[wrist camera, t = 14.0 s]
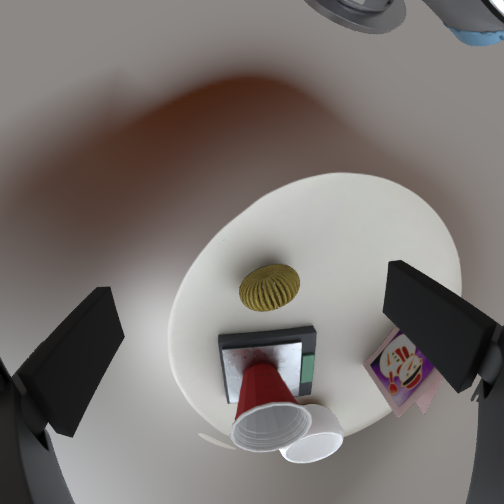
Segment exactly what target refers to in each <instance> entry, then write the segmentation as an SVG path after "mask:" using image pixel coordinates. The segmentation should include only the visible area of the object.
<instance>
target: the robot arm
mask: <svg viewBox="0 0 504 504" xmlns="http://www.w3.org/2000/svg"><path fill="white" fill-rule="evenodd" d="M338 1H340V2H341V3H343V4H345V5H347V6H349V7H351V8H354V9H356V10H359V11H363V12H367V13H381V12H384V11H386V10H387V9H388V8H389V7H390V6H391V5H392V4H393V2H394V0H338ZM422 1H424V2H425V3H426V4H427V5H428V6H429V7H430V8H431V9H432V10H433V12H434V13H435V14H436V15H437V16H438V17H439V18H440V19H441V20H442V21H443V23H444V25H445V26H446V27H447V28H449V29H450V30H451V31H452V32H453V33H454V35H455V36H456V37H457V38H458V39H459V40H460V41H461V42H463V43H465V44H467V45H470V46H487V45H492V44H495V43H499V42H500V41H501V40H504V0H422ZM383 313H384V314H385V315H386V316H387V317H388V318H389V319H390V320H391V321H392V322H393V323H394V324H395V325H396V326H397V327H398V328H399V329H400V330H401V332H402V333H403V334H404V335H405V336H406V337H407V338H408V339H409V340H410V341H411V342H412V343H413V344H414V345H415V346H416V347H417V348H418V349H419V351H420V352H421V353H422V354H423V355H424V356H425V357H426V358H427V359H428V360H429V361H430V363H431V364H432V365H433V366H434V367H435V368H436V369H437V370H438V371H439V372H440V374H441V375H442V376H443V377H444V378H445V379H446V380H447V381H448V383H449V384H450V385H451V386H452V387H453V388H454V390H455V391H456V392H457V393H460V392H462V391H464V390H465V389H467V388H469V387H471V386H472V383H473V381H474V379H475V377H476V375H477V373H478V374H479V375H480V376H481V377H482V378H481V380H480V382H479V384H478V386H477V388H476V390H475V392H474V394H473V396H472V398H471V401H473V400H474V398H475V397H476V395H478V394H479V397H478V399H477V402H479V408H478V431H477V443H476V453H475V460H474V467H473V473H472V478H471V483H470V488H469V493H468V497H467V501H466V504H504V326H501V325H500V324H498V323H497V322H495V321H494V320H493V319H491V318H490V317H489V316H487V315H486V314H485V313H483V312H481V311H480V310H479V309H477V308H475V307H474V306H473V305H471V304H470V303H468V302H467V301H465V300H464V299H462V298H461V297H459V296H458V295H456V294H455V293H453V292H452V291H450V290H449V289H447V288H446V287H444V286H443V285H441V284H439V283H438V282H436V281H435V280H433V279H432V278H430V277H428V276H427V275H425V274H423V273H422V272H420V271H419V270H417V269H415V268H414V267H412V266H410V265H409V264H407V263H405V262H404V261H402V260H397V261H389V263H388V273H387V283H386V291H385V299H384V306H383ZM124 337H125V336H124V333H123V330H122V327H121V323H120V320H119V317H118V313H117V310H116V306H115V303H114V299H113V295H112V292H111V288H110V287H97V288H96V289H95V290H93V291H92V293H90V294H89V295H88V296H87V297H86V298H85V299H84V300H83V301H82V302H81V303H80V304H79V305H78V306H77V307H76V308H75V309H74V310H73V311H72V312H71V313H70V314H69V315H68V316H67V318H66V319H65V320H64V321H63V322H62V323H61V324H60V325H59V326H58V327H57V328H56V329H55V330H54V331H53V332H52V333H51V334H50V335H49V337H48V338H47V339H46V340H45V341H43V342H42V343H41V344H40V345H39V346H38V347H37V348H36V349H35V350H34V352H33V353H32V354H31V355H30V356H29V358H27V360H26V361H25V362H24V363H23V364H22V365H21V367H20V368H19V369H18V370H17V371H16V372H15V374H14V375H13V376H12V377H11V376H10V374H9V373H8V371H7V369H6V367H5V365H4V363H3V362H2V360H1V358H0V504H75V503H74V501H73V499H72V497H71V494H70V492H69V490H68V487H67V485H66V482H65V480H64V477H63V475H62V472H61V469H60V466H59V464H58V461H57V458H56V455H55V452H54V448H53V445H52V442H51V438H50V435H49V433H48V431H47V430H46V429H45V427H46V425H47V423H48V422H49V424H50V425H51V426H52V428H53V429H54V430H55V432H56V433H58V434H62V435H65V436H68V437H73V436H74V434H75V432H76V430H77V427H78V425H79V423H80V421H81V419H82V417H83V415H84V413H85V411H86V409H87V407H88V404H89V402H90V400H91V399H92V397H93V395H94V393H95V391H96V389H97V387H98V385H99V383H100V381H101V379H102V377H103V375H104V373H105V372H106V370H107V368H108V366H109V364H110V362H111V361H112V359H113V357H114V355H115V353H116V351H117V350H118V348H119V346H120V344H121V343H122V341H123V339H124Z"/></svg>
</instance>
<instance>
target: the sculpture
mask: <svg viewBox="0 0 504 504" xmlns="http://www.w3.org/2000/svg"><path fill="white" fill-rule="evenodd" d="M274 282H275V284H276V286H275V284H274ZM262 285H263V288H262ZM299 287H300V279H299V276H298V274H297V272H296V271H295V270H294V269H293V268H291V267H290V266H287V265H283V264H274V265H269V266H265V267H262V268H259V269H258V270H256V271H253V272H252V273H250V274H249V275H248V276H247V277H246V278H245V279H244V280H243V281H242V283H241V286H240V289H239V294H240V298H241V301H242V303H243V304H244V305H245V306H246V307H248V308H249V309H251V310H254V311H271V310H275V308H276V309H278V307H282V306H283V305H286V304H287V303H289V302H290V301H291V300H292V299H293V298H294V297H295V296H296V294H297V293H298V290H299ZM258 288H259V289H258ZM262 292H263V293H262Z"/></svg>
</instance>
